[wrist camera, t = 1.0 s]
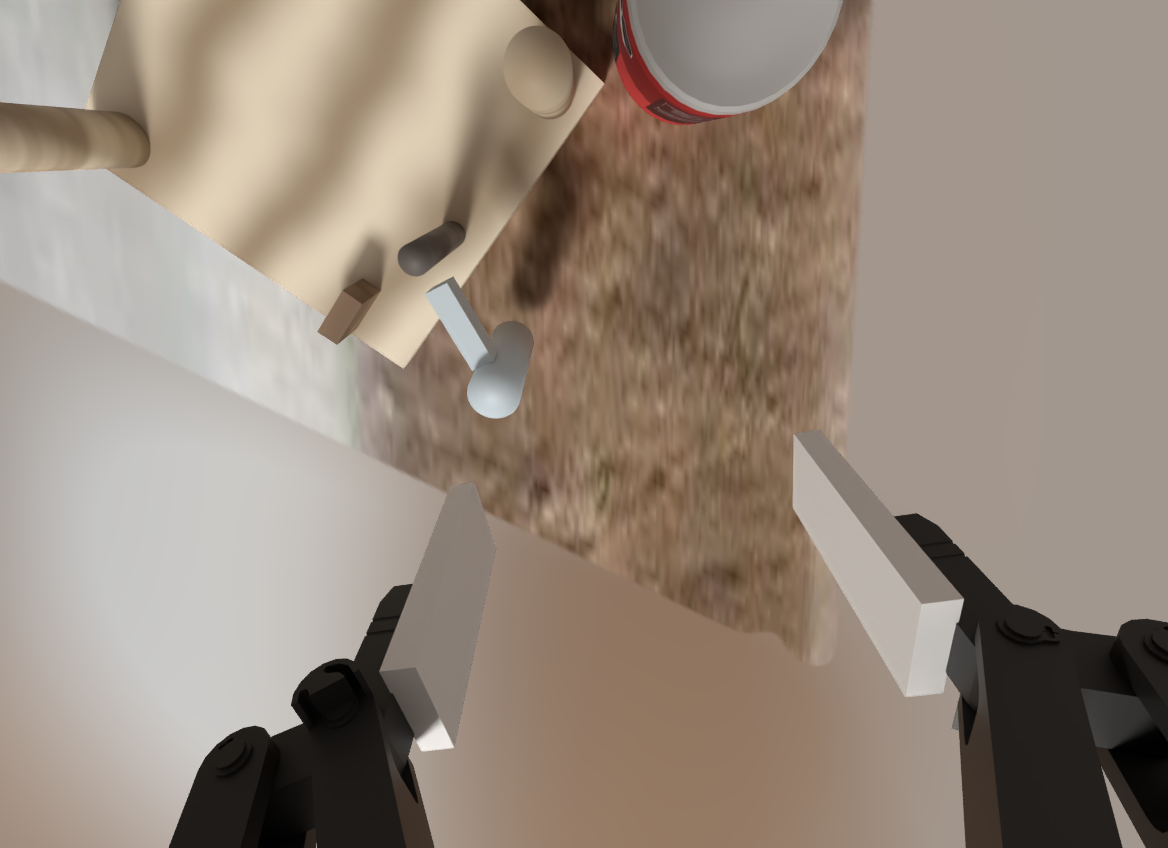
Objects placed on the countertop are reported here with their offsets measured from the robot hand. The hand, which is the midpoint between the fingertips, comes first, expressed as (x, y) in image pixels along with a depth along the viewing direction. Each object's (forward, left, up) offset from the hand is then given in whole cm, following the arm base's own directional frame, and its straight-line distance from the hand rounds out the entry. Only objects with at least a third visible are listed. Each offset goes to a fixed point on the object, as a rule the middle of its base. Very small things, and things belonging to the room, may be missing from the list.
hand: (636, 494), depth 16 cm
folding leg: (-6, -4, -18) cm, 19 cm away
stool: (-18, -1, -21) cm, 28 cm away
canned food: (-6, +14, -21) cm, 26 cm away
